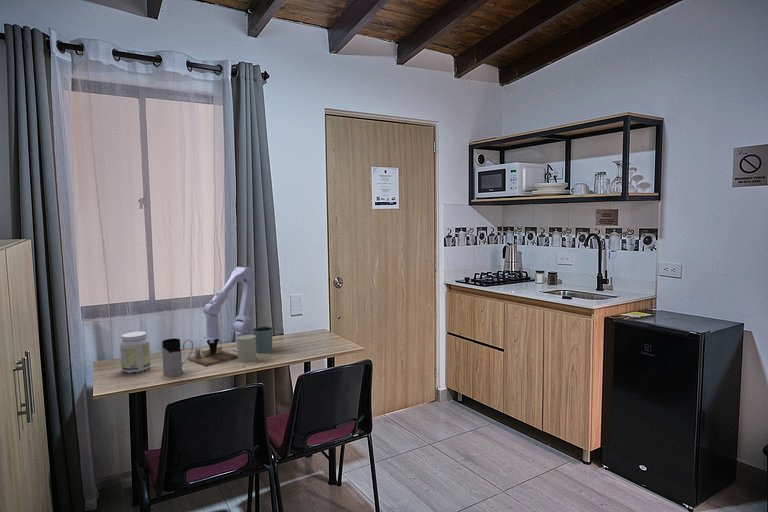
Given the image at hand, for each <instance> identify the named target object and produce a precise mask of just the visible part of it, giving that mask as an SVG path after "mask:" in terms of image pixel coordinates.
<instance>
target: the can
mask: <svg viewBox="0 0 768 512" xmlns="http://www.w3.org/2000/svg"><path fill="white" fill-rule="evenodd" d="M237 349H238V351H237V355H238V358H237V362H238V361H240V362H239V363H250V362H249V361H252V362H255V361H257V359H258V357H257V353H256V336H255V335H241V336H238V337H237ZM254 360H255V361H254Z"/></svg>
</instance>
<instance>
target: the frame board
mask: <svg viewBox="0 0 768 512" xmlns="http://www.w3.org/2000/svg"><path fill="white" fill-rule="evenodd" d="M194 352H195V353H194V355H195V356H192V357H190V356H189V358H188V359H187V361H189V362H192V363H195V364H197V365H200V364H201V366H203V365H204V367H208V365H210V366H212V364H213V365H216V364H215V363H217V364H219V363H218V362H221V363H223V362H222V361H224V362H227V361H226V360H228V361H230V360H229V359H232V360H234V359H233V358H236V359H238V354H234V353H231V352H227V351H225V350H222V353H218V354H213V355H208V356H202V354H201V349H200V348H196V349H194Z"/></svg>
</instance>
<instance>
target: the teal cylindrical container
mask: <svg viewBox="0 0 768 512" xmlns="http://www.w3.org/2000/svg"><path fill="white" fill-rule="evenodd" d="M252 332H253V335H255V336H256V354H269V353H271V352H273V332H274V329H273V327H271V326H260V327H255V328H252ZM268 352H269V353H268Z"/></svg>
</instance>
